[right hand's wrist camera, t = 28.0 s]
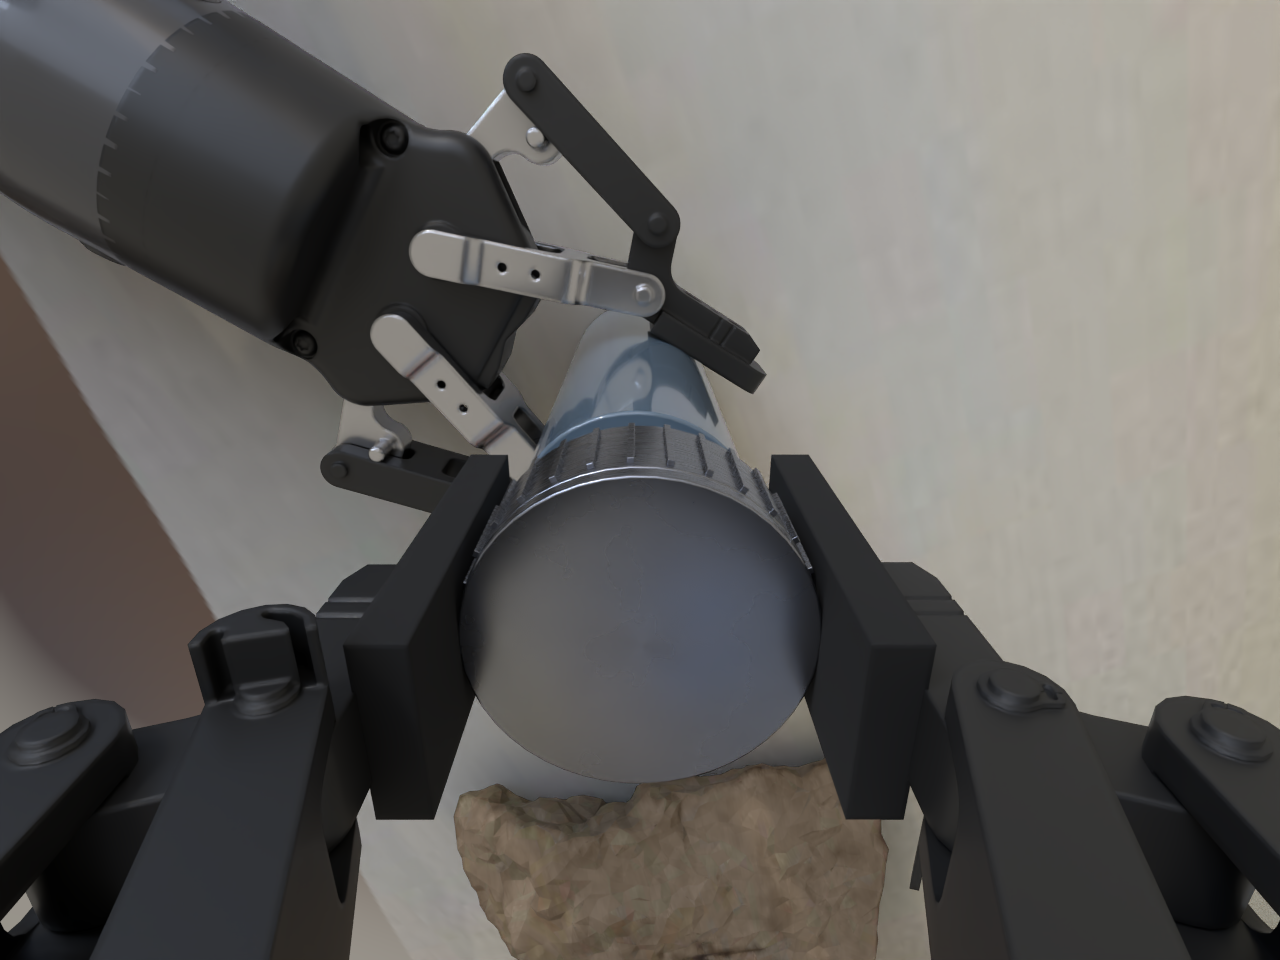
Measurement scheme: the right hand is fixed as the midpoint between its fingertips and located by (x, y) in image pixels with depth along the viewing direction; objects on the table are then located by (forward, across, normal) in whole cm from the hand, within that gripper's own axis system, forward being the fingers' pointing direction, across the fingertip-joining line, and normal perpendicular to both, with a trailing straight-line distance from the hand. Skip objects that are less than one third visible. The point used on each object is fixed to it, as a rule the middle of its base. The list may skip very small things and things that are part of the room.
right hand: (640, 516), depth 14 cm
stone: (+14, -2, +26) cm, 30 cm away
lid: (-4, 0, 0) cm, 4 cm away
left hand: (+8, -2, +1) cm, 8 cm away
